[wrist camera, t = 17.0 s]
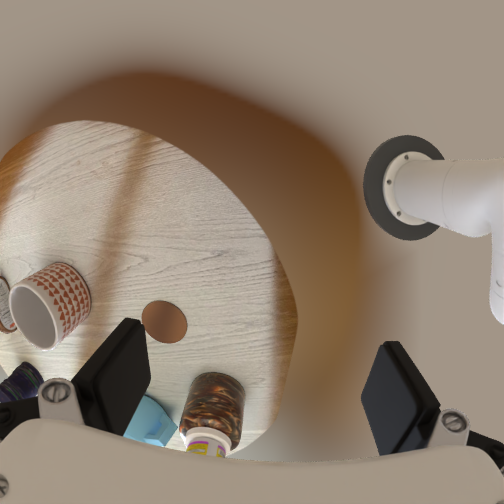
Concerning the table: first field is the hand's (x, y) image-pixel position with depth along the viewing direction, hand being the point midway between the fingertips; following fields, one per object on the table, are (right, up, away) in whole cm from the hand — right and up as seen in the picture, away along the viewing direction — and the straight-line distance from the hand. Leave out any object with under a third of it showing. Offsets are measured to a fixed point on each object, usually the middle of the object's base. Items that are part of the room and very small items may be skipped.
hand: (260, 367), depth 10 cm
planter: (-39, -4, +40) cm, 57 cm away
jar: (-7, -25, +45) cm, 52 cm away
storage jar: (-66, -32, +49) cm, 88 cm away
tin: (-62, -7, +42) cm, 75 cm away
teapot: (-28, -36, +49) cm, 66 cm away
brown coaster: (-17, -9, +41) cm, 45 cm away
